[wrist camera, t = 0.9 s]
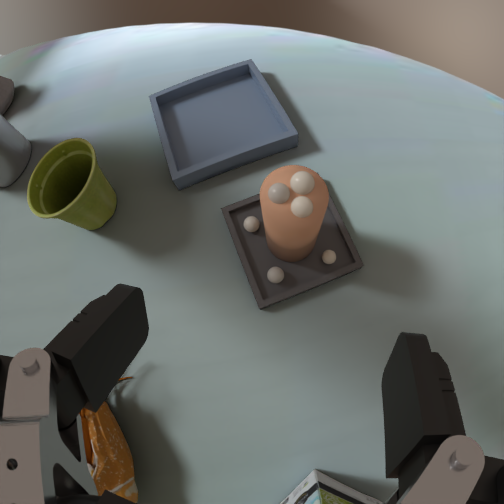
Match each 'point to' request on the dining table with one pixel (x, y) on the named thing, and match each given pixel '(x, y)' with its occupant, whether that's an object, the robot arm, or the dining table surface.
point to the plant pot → (71, 186)
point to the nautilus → (108, 453)
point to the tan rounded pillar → (293, 211)
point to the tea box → (326, 492)
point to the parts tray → (281, 272)
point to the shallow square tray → (220, 123)
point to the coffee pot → (5, 93)
